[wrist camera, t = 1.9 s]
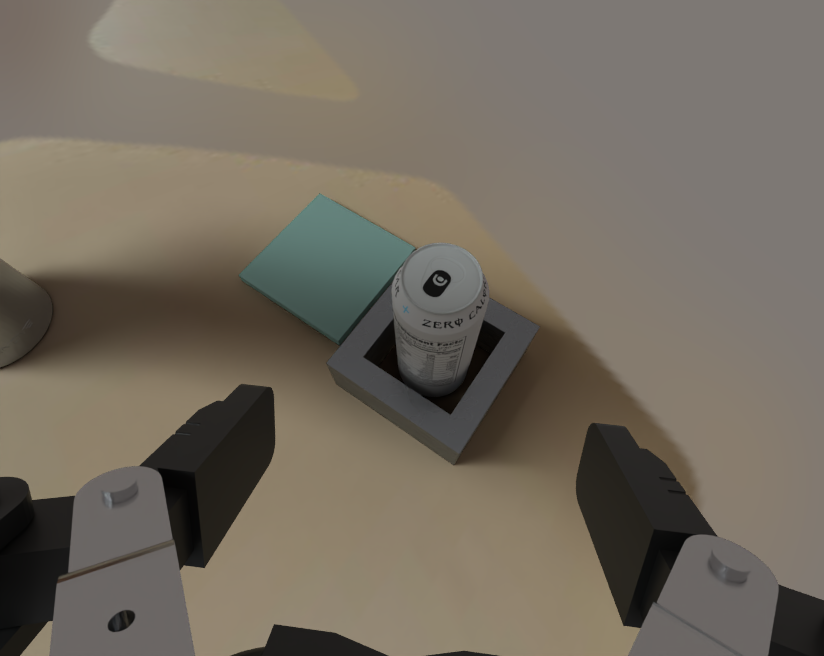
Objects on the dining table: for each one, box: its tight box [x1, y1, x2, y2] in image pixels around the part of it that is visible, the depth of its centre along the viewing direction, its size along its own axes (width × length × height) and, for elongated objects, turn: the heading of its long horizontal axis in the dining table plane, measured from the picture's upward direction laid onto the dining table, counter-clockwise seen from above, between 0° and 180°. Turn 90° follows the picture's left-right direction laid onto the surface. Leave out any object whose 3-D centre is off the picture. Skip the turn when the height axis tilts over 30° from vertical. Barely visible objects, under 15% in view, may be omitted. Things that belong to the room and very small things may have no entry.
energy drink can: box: [391, 243, 489, 397], centre depth 33 cm, size 6×6×15 cm
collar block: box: [326, 282, 540, 465], centre depth 38 cm, size 12×12×5 cm
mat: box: [239, 194, 415, 345], centre depth 44 cm, size 12×12×1 cm
